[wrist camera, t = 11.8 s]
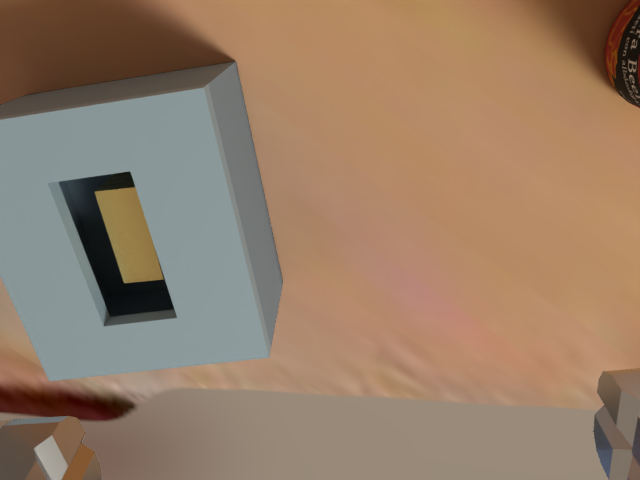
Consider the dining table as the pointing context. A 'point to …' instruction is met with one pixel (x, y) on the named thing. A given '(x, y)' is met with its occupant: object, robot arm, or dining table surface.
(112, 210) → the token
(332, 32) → the dining table surface
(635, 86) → the canned food
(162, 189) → the tissue box
